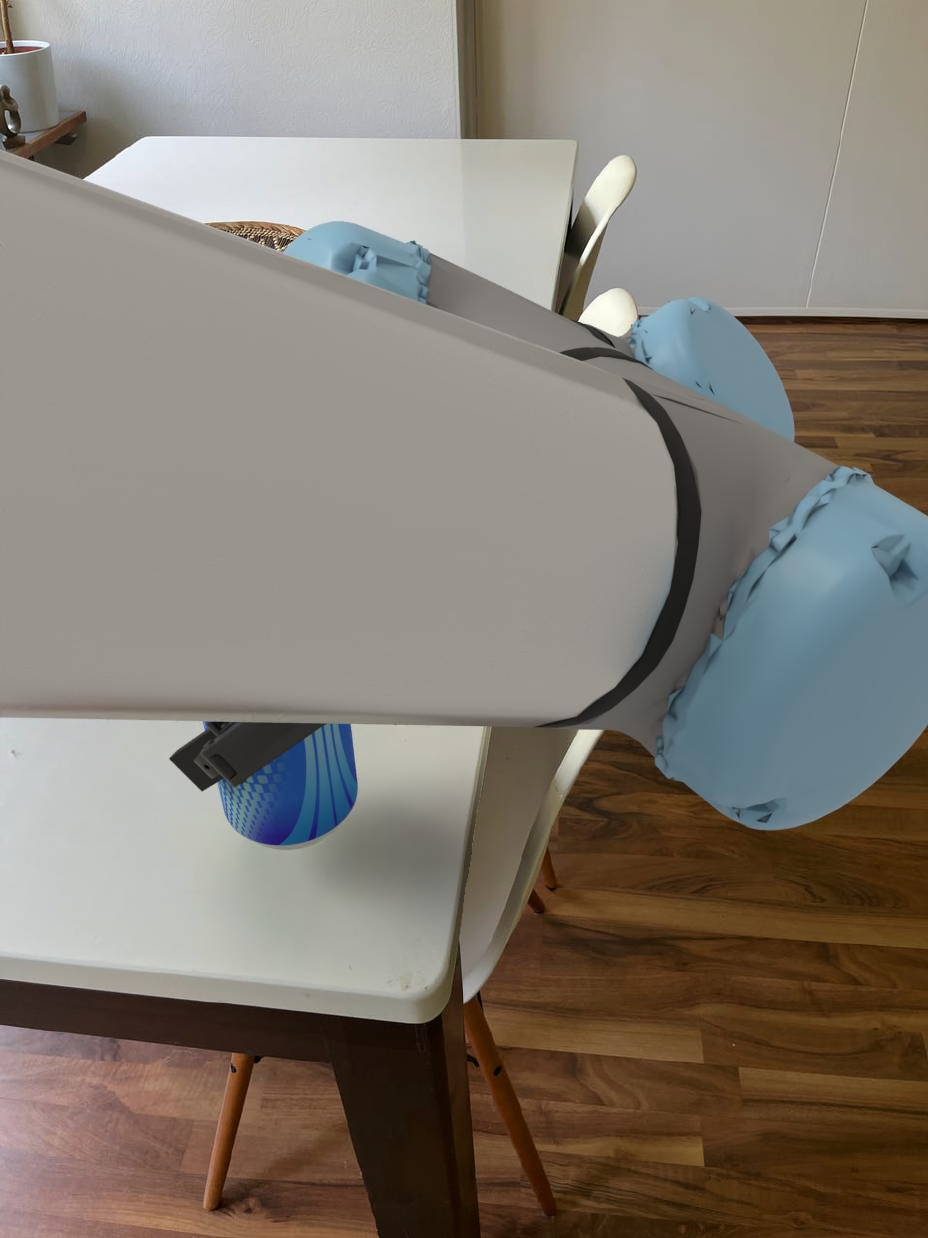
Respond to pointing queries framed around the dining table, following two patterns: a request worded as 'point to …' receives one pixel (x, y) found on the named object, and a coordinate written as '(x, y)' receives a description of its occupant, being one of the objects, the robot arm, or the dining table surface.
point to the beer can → (296, 792)
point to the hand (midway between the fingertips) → (235, 721)
